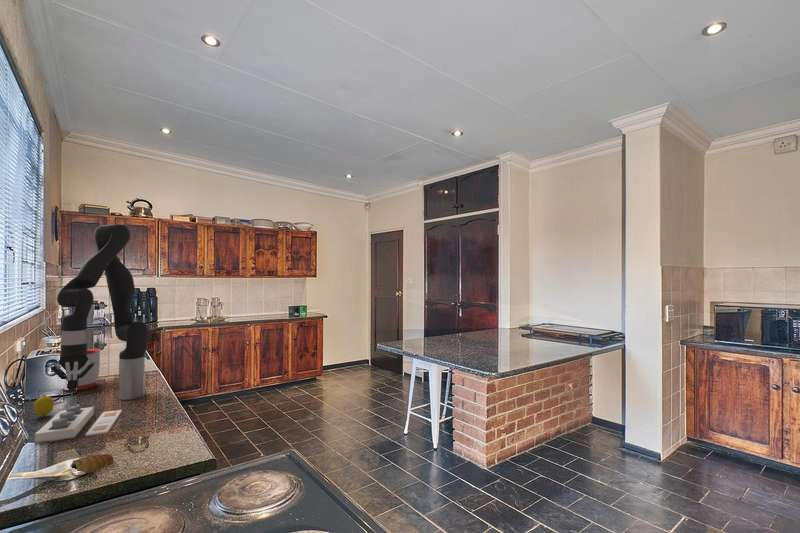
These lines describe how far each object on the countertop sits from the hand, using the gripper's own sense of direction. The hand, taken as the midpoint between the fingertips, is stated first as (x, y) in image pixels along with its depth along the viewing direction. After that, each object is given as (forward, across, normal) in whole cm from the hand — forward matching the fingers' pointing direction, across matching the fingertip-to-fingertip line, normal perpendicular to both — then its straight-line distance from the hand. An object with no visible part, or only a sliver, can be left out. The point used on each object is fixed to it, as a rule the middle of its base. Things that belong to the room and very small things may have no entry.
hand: (72, 389), depth 144 cm
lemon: (+12, +11, -10) cm, 19 cm away
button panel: (+11, 0, +7) cm, 13 cm away
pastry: (+12, -16, +45) cm, 50 cm away
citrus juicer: (+11, +11, -49) cm, 52 cm away
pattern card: (+11, -12, +7) cm, 17 cm away
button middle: (+9, 0, +7) cm, 12 cm away
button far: (+9, 0, 0) cm, 9 cm away
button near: (+10, -1, +14) cm, 17 cm away
